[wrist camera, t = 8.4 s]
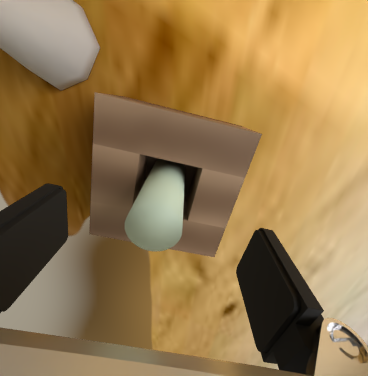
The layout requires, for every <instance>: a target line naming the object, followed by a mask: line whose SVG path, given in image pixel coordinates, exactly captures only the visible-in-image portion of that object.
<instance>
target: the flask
mask: <svg viewBox="0 0 368 376" xmlns="http://www.w3.org/2000/svg"><path fill="white" fill-rule="evenodd" d="M0 48H1V49H2V50H4V51H5V52H6V53H8V54H9V55H10V56H12V57H13V58H14V59H15V60H17V61H18V62H19V63H20V64H22V65H23V66H24V67H26V68H27V69H28V70H30V71H31V72H33V73H34V74H36V75H38V76H39V77H41V78H42V79H44V80H45V81H47V82H48V83H50V84H52V85H53V86H55V87H56V88H58V89H59V90H64V89H66V88H68V87H71V86H73V85H75V84H77V83H80V82H82V81H84V80H87V79H88V77H89V74H90V72H91V69H92V67H93V64H94V62H95V59H96V57H97V54H98V52H99V49H100V47H99V44H98V42H97V40H96V37H95V35H94V33H93V31H92V28H91V26H90V24H89V21H88V19H87V17H86V15H85V12H84V10H83V8H82V7H81V6H80V5H78V4H77V3H76V2H74V1H73V0H0Z"/></svg>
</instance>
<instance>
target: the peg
mask: <svg viewBox="0 0 368 376" xmlns="http://www.w3.org/2000/svg"><path fill="white" fill-rule="evenodd" d="M184 184H185V167H184V164H181V163H177V162H172V161H168V160H164V159H158V160H157V161H156V162H155V164H154V166H153V168H152V169H151V171H150V173H149V175H148V177H147V179H146V181H145V183H144V185H143V187H142V189H141V191H140V192H139V194H138V196H137V198H136V200H135V202H134V204H133V206H132V208H131V210H130V212H129V213H128V215H127V217H126V220H125V232H126V234H127V236H128V238H129V239H130V240H131V241H132V242H133V243H134V244H135V245H137V246H138V247H140V248H142V249H145V250H149V251H163V250H167V249H169V248H171V247H173V246H174V245H175V244H176V243H177V242H178V241H179V240H180V238H181V236H182V228H183V206H184Z"/></svg>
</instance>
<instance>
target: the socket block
mask: <svg viewBox="0 0 368 376" xmlns="http://www.w3.org/2000/svg"><path fill="white" fill-rule="evenodd" d="M261 135H262V134H260V133H258V132H255V131H252V130H250V129H247V128H245V127H242V126H239V125H235V124H231V123H227V122H223V121H219V120H215V119H211V118H207V117H203V116H199V115H195V114H191V113H187V112H183V111H179V110H175V109H171V108H167V107H163V106H159V105H155V104H151V103H147V102H143V101H139V100H135V99H131V98H127V97H123V96H117V95H110V94H102V93H95V100H94V127H93V154H92V180H91V207H90V234H92V235H97V236H103V237H108V238H114V239H119V240H124V241H130V242H132V241H131V240H130V239H129V238H128V236H127V234H126V232H125V220H126V217H127V215H128V213H129V212H130V210H131V208H132V206H133V204H134V202H135V200H136V198H137V196H138V194H139V192H140V191H141V189H142V187H143V185H144V183H145V181H146V179H147V177H148V175H149V173H150V171H151V169H152V168H153V166H154V164H155V162H156V161H157V160H158V159H164V160H168V161H172V162H177V163H181V164H184V167H185V184H184V206H183V228H182V236H181V238H180V240H179V241H178V242H177V243H176V244H175V245H174V246H173V247H171V248H169V249H173V250H178V251H184V252H189V253H194V254H200V255H205V256H211V257H215V254H216V251H217V249H218V246H219V244H220V241H221V238H222V236H223V233H224V231H225V228H226V226H227V223H228V220H229V218H230V215H231V213H232V210H233V207H234V205H235V202H236V200H237V197H238V194H239V192H240V189H241V187H242V184H243V182H244V179H245V176H246V174H247V171H248V169H249V166H250V163H251V161H252V158H253V156H254V153H255V151H256V148H257V145H258V143H259V140H260V138H261Z"/></svg>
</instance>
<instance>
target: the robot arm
mask: <svg viewBox="0 0 368 376" xmlns="http://www.w3.org/2000/svg"><path fill="white" fill-rule="evenodd" d="M67 238H68V221H67V198H66V191H65V190H63V188H62V187H61V186H58V185H53V184H45V185H43V186H41V187H40V188H38V189H36V190H35V191H33V192H31V193H30V194H28V195H26V196H25V197H23V198H21V199H20V200H18V201H16V202H15V203H13V204H11V205H10V206H8V207H6V208H5V209H3V210H1V211H0V313H1V311H6V310H7V309H8V308H9V307H10V306H11V305H12V304H13V303H14V301H15V300H16V299H17V298H18V297H19V296H20V295H21V293H22V292H23V291H24V290H25V289H26V287H27V286H28V285H29V284H30V283H31V281H32V280H33V279H34V278H35V277H36V276H37V275H38V274H39V272H40V271H41V270H42V269H43V268H44V266H45V265H46V264H47V263H48V262H49V261H50V259H51V258H52V257H53V256H54V255H55V254H56V253H57V251H58V250H59V249H60V248H61V247H62V245H63V244H64V243H65V242H66V240H67ZM236 274H237V278H238V281H239V285H240V289H241V293H242V296H243V300H244V304H245V307H246V311H247V315H248V318H249V322H250V326H251V329H252V333H253V337H254V340H255V344H256V347H257V349H258V351H259V352H261V355H262V358H263V362H267V363H274V364H278V367H279V370H277V369H271V368H265V367H260V366H254V365H247V364H241V363H234V362H228V361H221V360H215V359H209V358H202V357H196V356H189V355H183V354H176V353H170V352H163V351H156V350H150V349H143V348H136V347H130V346H122V345H116V344H109V343H103V342H95V341H89V340H83V339H75V338H69V337H62V336H55V335H48V334H40V333H34V332H27V331H20V330H13V329H5V328H0V376H368V346H367V345H366V343H365V342H364V341H363V339H362V338H361V337H360V336H359V335H358V334H357V333H356V332H355V331H354V330H352V329H351V328H350V327H349V326H347V325H346V324H344V323H342V322H341V321H339V320H336V319H334V318H326V319H324V318H323V317H322V315H321V313H322V312H323V311H324V310H323V309H322V307H321V306H320V304H319V302H318V301H317V299H316V298H315V296H314V295H313V293H312V291H311V290H310V288H309V287H308V285H307V283H306V282H305V280H304V279H303V277H302V276H301V274H300V272H299V271H298V269H297V268H296V266H295V265H294V263H293V261H292V260H291V258H290V257H289V255H288V254H287V252H286V250H285V249H284V247H283V246H282V244H281V243H280V241H279V239H278V238H277V236H276V235H275V233H274V232H273V231H272V230H268V229H264V228H260V229H258V230H256V231H255V232H254V234H253V236H252V238H251V240H250V242H249V244H248V246H247V248H246V250H245V252H244V254H243V256H242V258H241V260H240V262H239V264H238V266H237V270H236Z"/></svg>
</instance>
